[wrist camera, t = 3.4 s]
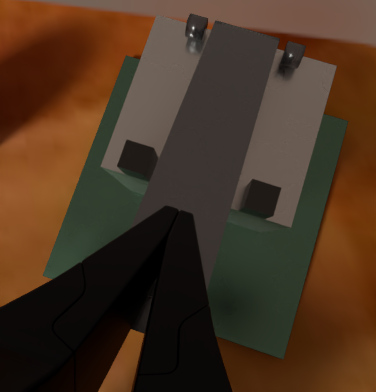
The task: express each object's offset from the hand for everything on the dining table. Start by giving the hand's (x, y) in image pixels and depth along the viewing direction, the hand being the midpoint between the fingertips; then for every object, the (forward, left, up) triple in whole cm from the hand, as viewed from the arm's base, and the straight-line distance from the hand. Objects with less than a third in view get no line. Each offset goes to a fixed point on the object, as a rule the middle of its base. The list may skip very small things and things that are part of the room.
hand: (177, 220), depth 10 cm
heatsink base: (+2, +2, -12) cm, 13 cm away
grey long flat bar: (+2, +2, -3) cm, 4 cm away
